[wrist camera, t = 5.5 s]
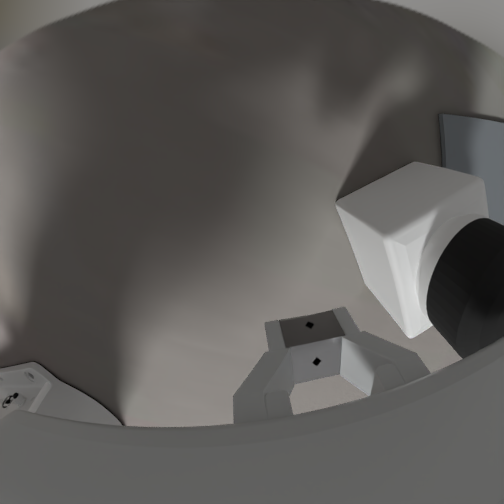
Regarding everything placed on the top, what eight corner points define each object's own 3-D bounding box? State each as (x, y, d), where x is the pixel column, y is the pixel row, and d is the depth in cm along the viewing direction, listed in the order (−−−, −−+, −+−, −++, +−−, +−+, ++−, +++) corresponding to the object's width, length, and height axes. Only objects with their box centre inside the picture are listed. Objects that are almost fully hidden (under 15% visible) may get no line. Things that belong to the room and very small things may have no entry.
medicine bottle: (364, 284, 20) (451, 402, 9) (331, 200, 18) (454, 293, 7) (435, 242, 20) (541, 321, 8) (414, 159, 17) (556, 201, 6)
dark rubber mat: (431, 301, 22) (434, 304, 21) (438, 113, 16) (442, 113, 15) (521, 267, 22) (523, 268, 21) (532, 130, 16) (535, 130, 15)
